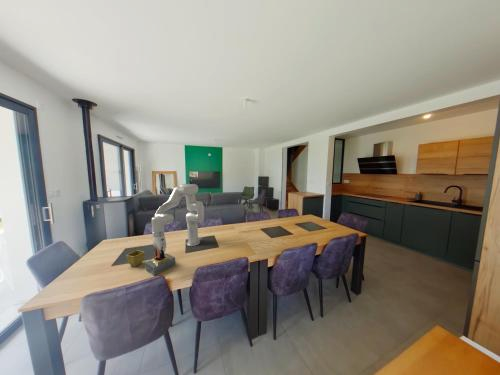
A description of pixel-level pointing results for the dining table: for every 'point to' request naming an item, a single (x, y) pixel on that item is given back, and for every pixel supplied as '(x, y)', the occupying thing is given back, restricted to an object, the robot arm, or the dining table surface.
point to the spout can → (159, 254)
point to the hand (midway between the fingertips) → (160, 256)
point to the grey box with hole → (160, 264)
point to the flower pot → (135, 257)
